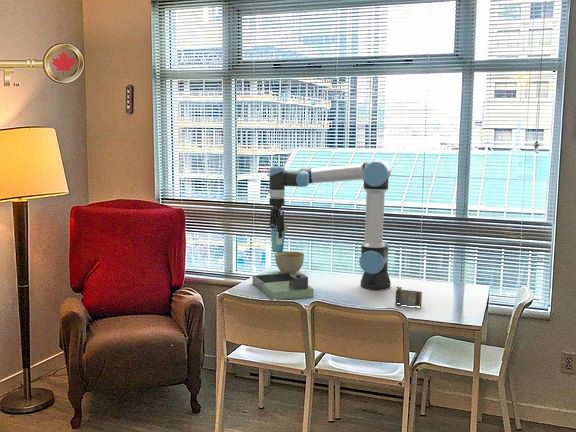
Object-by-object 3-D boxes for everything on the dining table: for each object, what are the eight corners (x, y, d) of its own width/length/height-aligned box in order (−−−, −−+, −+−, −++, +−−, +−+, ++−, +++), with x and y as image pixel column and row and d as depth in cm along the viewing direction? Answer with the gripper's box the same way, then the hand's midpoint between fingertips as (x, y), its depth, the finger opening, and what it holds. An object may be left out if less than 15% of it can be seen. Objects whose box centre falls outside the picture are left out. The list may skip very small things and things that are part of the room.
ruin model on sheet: (395, 307, 294) (395, 286, 292) (396, 305, 296) (397, 284, 295) (420, 310, 289) (420, 288, 288) (421, 308, 292) (422, 287, 291)
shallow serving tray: (313, 296, 308) (313, 274, 306) (274, 300, 301) (274, 277, 299) (289, 280, 338) (289, 260, 337) (252, 283, 331) (252, 263, 330)
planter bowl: (307, 271, 360) (307, 252, 358) (299, 278, 344) (299, 258, 343) (280, 269, 365) (280, 250, 363) (270, 275, 349) (270, 255, 348)
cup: (275, 255, 317) (276, 225, 314) (262, 253, 321) (263, 223, 318) (290, 250, 329) (291, 221, 326) (277, 248, 333) (278, 219, 330)
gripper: (263, 195, 329) (263, 239, 332) (276, 200, 310) (276, 247, 313) (277, 195, 332) (276, 238, 335) (291, 199, 313) (290, 246, 316)
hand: (276, 242), depth 324 cm, fingers closed on cup, 8 cm apart
